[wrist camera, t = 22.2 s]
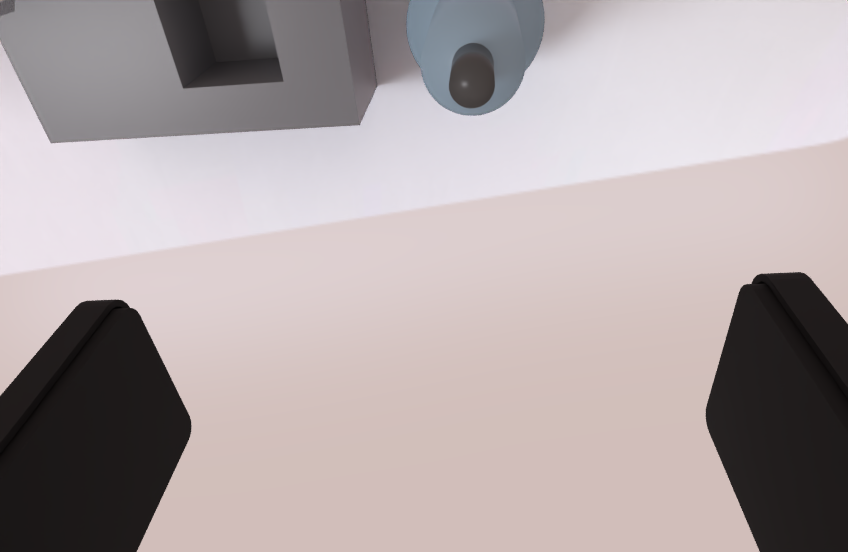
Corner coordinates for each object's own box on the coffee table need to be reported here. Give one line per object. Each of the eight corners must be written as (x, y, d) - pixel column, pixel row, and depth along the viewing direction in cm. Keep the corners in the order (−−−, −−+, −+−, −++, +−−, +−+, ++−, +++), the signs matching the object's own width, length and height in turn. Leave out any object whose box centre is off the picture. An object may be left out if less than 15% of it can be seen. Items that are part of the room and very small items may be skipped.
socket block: (108, 104, 36) (37, 152, 30) (30, -84, 30) (-77, -69, 24) (377, 86, 34) (355, 134, 28) (348, -119, 28) (314, -112, 22)
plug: (422, 69, 33) (392, 173, 22) (410, -59, 30) (367, -7, 19) (535, 61, 33) (561, 165, 22) (537, -71, 29) (571, -25, 18)
